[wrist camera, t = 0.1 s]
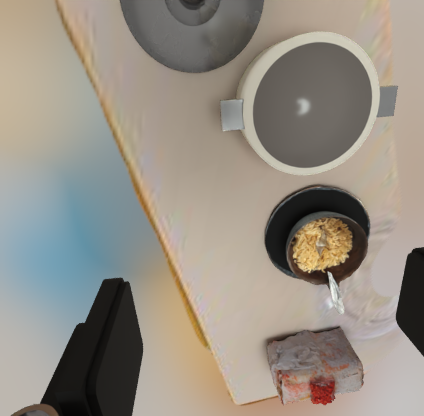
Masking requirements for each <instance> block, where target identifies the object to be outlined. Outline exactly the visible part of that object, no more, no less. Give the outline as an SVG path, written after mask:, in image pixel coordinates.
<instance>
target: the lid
mask: <svg viewBox="0 0 424 416" xmlns="http://www.w3.org/2000/svg"><path fill="white" fill-rule="evenodd" d="M120 3H121V8H122V11H123V14H124V17H125V20H126V23H127V25H128V27H129V29H130V31H131V33H132V34H133V36H134V37H135V39H136V40H137V42H138V43H139V44H140V46H141V47H142V48H143V49H144V50H145V51H146V52H147V53H148V54H149V55H150V56H152V57H153V58H154V59H155V60H157V61H158V62H160V63H162V64H163V65H165V66H168V67H170V68H172V69H175V70H179V71H183V72H205V71H209V70H213V69H216V68H218V67H220V66H222V65H225V64H226V63H228V62H229V61H231V60H232V59H233V58H235V57H236V56H237V55H238V54H239V53H240V52H241V51H242V50H243V49H244V48H245V46H246V45H247V44H248V42H249V41H250V39H251V38H252V36H253V34H254V32H255V30H256V28H257V25H258V23H259V20H260V17H261V13H262V9H263V3H264V0H120Z"/></svg>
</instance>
